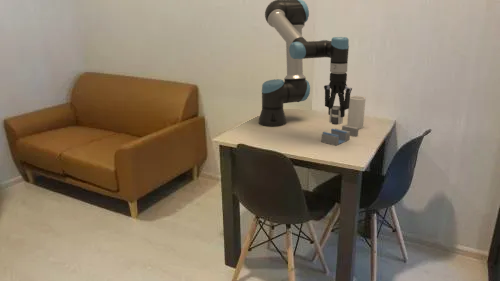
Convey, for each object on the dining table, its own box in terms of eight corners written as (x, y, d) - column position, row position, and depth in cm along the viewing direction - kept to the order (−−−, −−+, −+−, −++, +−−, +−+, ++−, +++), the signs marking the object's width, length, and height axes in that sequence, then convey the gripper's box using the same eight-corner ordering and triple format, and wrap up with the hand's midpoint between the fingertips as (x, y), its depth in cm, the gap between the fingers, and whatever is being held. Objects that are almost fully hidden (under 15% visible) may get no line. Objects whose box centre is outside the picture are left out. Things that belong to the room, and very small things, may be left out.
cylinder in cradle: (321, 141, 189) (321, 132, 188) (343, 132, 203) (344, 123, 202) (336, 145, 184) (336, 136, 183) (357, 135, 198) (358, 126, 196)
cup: (363, 129, 208) (366, 99, 203) (347, 128, 210) (349, 98, 205) (362, 125, 216) (364, 95, 211) (346, 124, 217) (348, 95, 212)
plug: (329, 123, 187) (330, 106, 185) (334, 121, 190) (335, 105, 187) (337, 125, 184) (338, 108, 182) (341, 123, 187) (342, 106, 185)
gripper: (317, 71, 183) (316, 121, 190) (351, 75, 172) (347, 127, 179) (327, 70, 188) (324, 118, 195) (359, 73, 177) (356, 124, 184)
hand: (335, 122), depth 187 cm, fingers closed on plug, 4 cm apart
